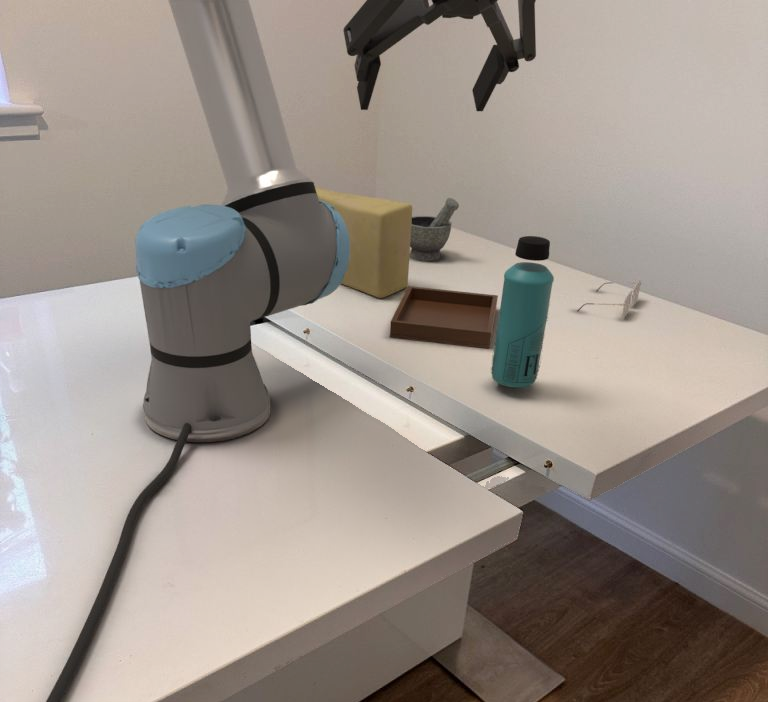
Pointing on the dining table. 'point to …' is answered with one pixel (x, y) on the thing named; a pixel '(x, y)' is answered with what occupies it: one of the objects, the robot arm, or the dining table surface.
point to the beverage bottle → (523, 315)
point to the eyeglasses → (627, 299)
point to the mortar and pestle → (431, 232)
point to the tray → (445, 317)
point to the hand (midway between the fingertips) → (420, 100)
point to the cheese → (374, 241)
